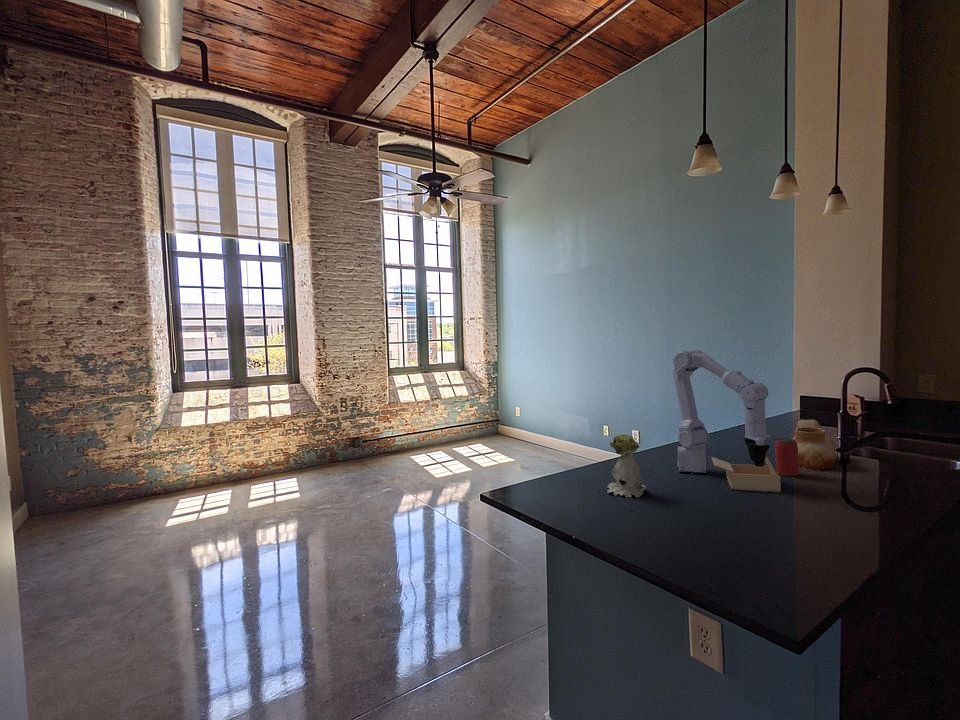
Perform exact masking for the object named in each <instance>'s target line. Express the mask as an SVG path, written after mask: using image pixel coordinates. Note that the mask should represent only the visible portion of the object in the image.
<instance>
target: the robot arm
mask: <svg viewBox="0 0 960 720" xmlns="http://www.w3.org/2000/svg"><path fill="white" fill-rule="evenodd" d="M672 362H673V371H672V377H673V383H674V387H675V392H676V396H677V401H678V406H679V410H680V411H679V412H680V416H681V421H682V422H681V423H680V425H679V426H678V437H677V438H678V442H679V444H680V445H681V446H677V462H676V463H677V464H676V465H677V468H678V467H679V469H678V471H679V470H685V471H693V472H703V471H706V468H707V463H706V459H707V458H706V447H707V443H708V442H709V440H710V434H709V432H708V430H707V429H706V427H705V424H704V422H702V421H701V419H700V418H699V415H698V410H697V406H696V400H695V397H694V396H695V395H694V390H693V386H692V381H691V376H692V375H693V374H694V373H695V371H697V370H698V369H700V368H703V369H705V370H706V371H708V372H710V373H712V374H713V375H715V376H717V377H718V378H721V379H722V383H723V385H725V386H726V387H728V388H730V389H731V390H732V391H734V392H735V393H737V394H739V397H740V399H741V400H742V402H743V407H744V408H743V409H744V424H745V425H744V428H745V429H744V430H745V434H744V437H745V438H743V440H744V443H745V445H746V447H747V449H748V454H749V458H750V460H751V461H752V462H753V463H754V465H755V466H760V467H763V465H765V462H766V461H765V456H767V453H768V451H769V450H770V449H769V448H770V445H769V444H765V440H767V439H768V438H769V439H770V438H771V437H772V435H771V434H767V424H766V420H767V419H766V399H767V398H768V397H769V390H768V387H767V386H766V385H764V384H763V382H755V380H754V379H753V378H748V377H747V376H745V375H744V374H742V371H740V370H735V369H733V370H732V369H731V370H728V369H727V368H726V367H724V366H723V365H722V364H720V363H718V362H717V361H716V360H715V359H713V358H711V357H710V355H709V354H708V353H705V352H704V351H702V350H700V349H695V350H694V349H693V350H680V351H678V352H677V353H676V354H675V355H674V357H673V358H672ZM681 467H683V468H681Z"/></svg>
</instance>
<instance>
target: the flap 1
mask: <svg viewBox="0 0 960 720" xmlns="http://www.w3.org/2000/svg"><path fill="white" fill-rule="evenodd" d="M711 461H712V463H713V465H714V467H716V468H720V469H722V470H724V471H726V470H727V471H730V472H733V473H734V471H733V469H732V467H731V465H730V464H731V463H729V462H727V461H725V460H722V459H719V458H717V457H713V456H711Z"/></svg>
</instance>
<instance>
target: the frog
mask: <svg viewBox="0 0 960 720" xmlns="http://www.w3.org/2000/svg"><path fill="white" fill-rule="evenodd" d="M609 445H610V446H611V447H610V448H613V450H615V453H616V454H617V455H619V456H620V457H619V458H618V460H617V462H616V464H615V465H614V467H613V469H612V470H611V474H612V477H613V478H614V479H615V482H610V483H609V484H607V488H608V489H606V491H607V494H609V493H612V494H613V495H614V497H616V496H617V495H620V496H621V497H623V496H624V497H625V498H626V499H628V498H627V497H629V499H630V498H632V497H633V496H634V497H635V498H640V497H641V496H642V495H643V494H644V491H645V490H646V489H647V487H646V485H644V484H642V481H641V469H640V466H639V463H638V461H637V459H636V458H635V456H634V455H633V454H634V453H636V452H637V451H638V449H639V448H640V445H639V443H638V442H637V441H636V440H635V439H634V437H633V436H631V435H629V434H627V433H625V434H618V435H616V436H614V437H613V440H612V441H610V442H609Z"/></svg>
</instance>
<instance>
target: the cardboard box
mask: <svg viewBox="0 0 960 720" xmlns="http://www.w3.org/2000/svg"><path fill="white" fill-rule="evenodd" d="M730 465H731V467H732V469H733V471H734V473H733V472H730V471H727V470H725V473H726V474H725V475H726V479H728V480H727V482H728V485H729V484H730V485H729V486H731V487H730V489H731V490H732V489H734V490H733V491H735V490H736V491H748V492H749V491H750V492H767V493H782V490H781V489H782V488H781V487H782V485H781V475H779V474H778V473H777V472H776V470H775V472H776V474H775V473H774V472H773V471H772V470H771V469H770V468H769V466H768V465H767V464H766V465H765V464H764V465H763V467H760V466H755V464H741V463H740V464H738V463H730Z"/></svg>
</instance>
